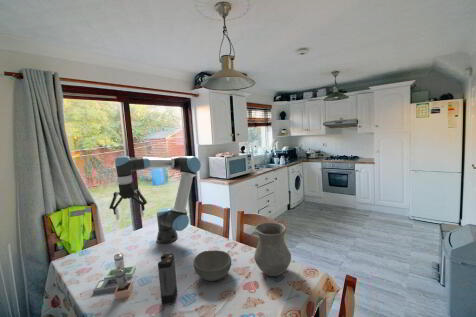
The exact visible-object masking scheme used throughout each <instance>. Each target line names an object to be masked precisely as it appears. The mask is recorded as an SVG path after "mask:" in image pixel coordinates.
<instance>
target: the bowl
mask: <svg viewBox="0 0 476 317" xmlns="http://www.w3.org/2000/svg"><path fill="white" fill-rule="evenodd" d="M231 266H232V257H231V254H229V253H228V252H226V251H223V250H218V249H217V250H216V249H215V250H203V251H202V252H200V253H198V254H196V256H195V257H194V260H193V268H194V271H195V274H197V276H199V278H201V279H203V280H205V281H209V282H211V281H213V282H214V281H218V280H221V279H222V278H224V277H225V276H227V274H228V273H229V271H230V269H231Z"/></svg>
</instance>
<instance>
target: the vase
mask: <svg viewBox="0 0 476 317" xmlns="http://www.w3.org/2000/svg"><path fill="white" fill-rule="evenodd" d="M254 231H255V233H256V234H257V235H258V242H257V246H256V248H255V252H254V261H255V263H256V266H257V267H258V269H259V270H260V271H261V272H262V273H263V274H265V275H267V276H269V277H278V276H280V275H282V274H284V273H285V272H286V270H288V268H289V266H290V264H291V261H292V254H291V252H290V250H289V249H288V247H287V244H286V241H285V235H286V234H285V233H286V231H287V227H286V225H285V224H283V223H281V222H275V221H274V222H273V221H271V222H270V221H268V222H267V221H266V222H263V223H262V222H261V223H259V224H257V225H256V226H254Z"/></svg>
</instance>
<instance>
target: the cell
mask: <svg viewBox="0 0 476 317" xmlns="http://www.w3.org/2000/svg"><path fill="white" fill-rule="evenodd" d="M113 258H114V259H113V260H114V267H115V268H114V269H116V271H117V270H118V269H121V268H124V267H125V260H124V253H122V252H118V253H116V254H115V255H113ZM124 269H125V268H124Z"/></svg>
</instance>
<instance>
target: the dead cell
mask: <svg viewBox="0 0 476 317" xmlns="http://www.w3.org/2000/svg"><path fill="white" fill-rule="evenodd" d="M115 276H116V280H117V282H116V286H118V290H119V291H123V290H128V288H129V287H128V282H129V281H128V278H127V277H126V271H125V269H124V268H121V269H118V270H117V271H116V272H115Z"/></svg>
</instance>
